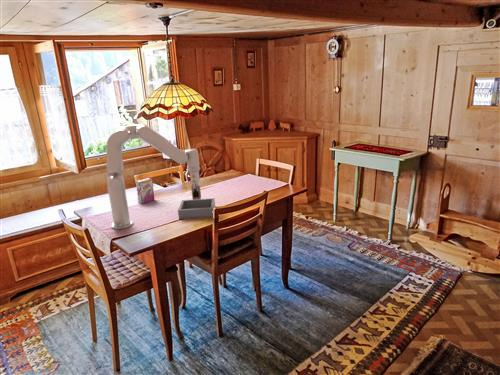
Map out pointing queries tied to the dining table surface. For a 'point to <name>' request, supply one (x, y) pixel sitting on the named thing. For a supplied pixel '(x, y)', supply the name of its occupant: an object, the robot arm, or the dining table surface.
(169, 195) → the dining table surface
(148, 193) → the candy bar box
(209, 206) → the bin
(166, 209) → the dining table surface
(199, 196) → the walnut block
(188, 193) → the dining table surface
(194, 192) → the robot arm
